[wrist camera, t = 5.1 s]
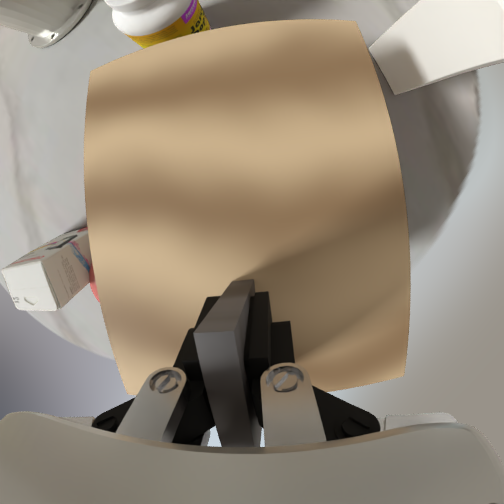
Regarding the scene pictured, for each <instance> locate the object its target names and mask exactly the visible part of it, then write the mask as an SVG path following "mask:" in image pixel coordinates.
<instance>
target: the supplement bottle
mask: <svg viewBox="0 0 504 504" xmlns="http://www.w3.org/2000/svg"><path fill="white" fill-rule="evenodd" d="M104 1H105V2H106V3H107V4H108V5H109V6H110V7H111V8H112V9H113V13H112V17H113V21H114V24H115V26H116V27H117V28H118V29H119V30H120V31H121V32H123V33H124V34H125V35H127V36H128V37H130V38H131V39H132V40H133V41H135V42H136V43H137V44H139V45H140V46H141V47H142V48H147V47H150V46H153V45H156V44H159V43H162V42H166V41H169V40H172V39H176V38H179V37H183V36H187V35H191V34H195V33H199V32H203V31H208V30H211V27H210V24H209V22H208V20H207V18H206V16H205V14H204V12H203V9H202V7H201V5H200V3H199V1H198V0H104Z"/></svg>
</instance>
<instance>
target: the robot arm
mask: <svg viewBox="0 0 504 504" xmlns="http://www.w3.org/2000/svg"><path fill="white" fill-rule="evenodd" d="M91 1H92V0H0V26H3V27H7V28H11V29H14V30H18V31H21V32H24V33H27V34H28V39H29V42H30V44H31V45H32V46H34V47H37V48H45V47H48V46H50V45H52V44H54V43H55V42H57V41H58V40H60V39H61V38H62V37H64V36H65V35H66V34H67V33H68V32H69V31H70V30H71V29H72V28H73V27H74V26H75V25H76V24H77V23H78V21H79V20H80V19H81V18H82V16H83V15H84V13H85V12H86V11H87V9H88V7H89V5H90V4H91ZM219 298H220V296H211V297H207V298H206V300H205V303H204V305H203V307H202V310H201V312H200V315H199V317H198V320H197V322H196V325H195V327H194V328H190V329H189V330H188V332H187V334H186V336H185V339H184V341H183V343H182V346H181V348H180V351H179V353H178V355H177V358H176V360H175V363H174V365H173V367H165V368H160V369H158V370H156V371H154V372H153V373H151V374H150V375H149V376H148V378H147V379H146V381H145V382H144V384H143V386H142V387H141V389H140V391H139V393H138V394H137V396H136V397H135V398H133V399H131V400H129V401H127V402H125V403H123V404H121V405H119V406H117V407H115V408H113V409H111V410H108V411H106V412H104V413H102V414H101V415H99V416H98V417H97V418H96V419H95V418H94V417H55V416H52V415H48V414H43V413H37V412H29V411H26V412H15V413H10V414H8V415H6V416H5V417H4V418H3V419H2V420H1V421H0V504H504V465H503V463H502V461H501V459H500V458H499V456H498V454H497V452H496V451H495V449H494V447H493V446H492V445H491V443H490V442H489V440H488V439H487V438H486V437H485V436H484V434H483V433H481V432H480V431H479V430H478V429H476V428H475V427H473V426H470V425H467V424H462V423H457V421H456V420H455V418H454V417H453V416H452V415H450V414H447V413H428V414H411V415H386V418H376V417H375V416H374V415H372V414H371V413H369V412H367V411H365V410H363V409H360V408H358V407H356V406H354V405H351V404H349V403H347V402H345V401H343V400H341V399H339V398H337V397H335V396H333V395H331V394H329V393H327V392H325V391H323V390H321V389H319V388H317V387H315V386H313V385H312V384H311V380H310V377H309V374H308V372H307V370H306V369H305V368H304V367H302V366H300V365H298V364H295V358H294V349H293V340H292V331H291V323H290V321H281V322H272V314H271V306H270V298H269V292H268V291H265V292H255V295H254V296H251V297H250V306H249V314H248V322H247V331H246V339H245V347H244V366H245V370H246V375H247V379H248V384H249V388H250V392H251V396H252V401H253V405H254V409H255V413H256V417H257V419H258V423H259V426H261V427H262V428H264V440H265V447H210V446H209V447H208V446H207V444H208V441H209V438H210V429H211V428H212V427H214V426H215V422H214V418H213V414H212V411H211V407H210V403H209V399H208V395H207V391H206V387H205V383H204V379H203V375H202V371H201V366H200V362H199V358H198V353H197V348H196V344H195V339H194V334H193V333H194V331H195V330H196V329H197V327H198V326H199V325H200V323H201V322H202V321H203V319H204V318H205V317H206V315H207V314H208V313H209V311H210V310H211V309H212V307H213V306H214V305H215V303H216V302H217V300H218V299H219Z"/></svg>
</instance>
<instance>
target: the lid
mask: <svg viewBox="0 0 504 504" xmlns="http://www.w3.org/2000/svg"><path fill="white" fill-rule="evenodd" d="M84 184H85V203H86V215H87V226H88V235H89V243H90V250H91V257H92V264H93V270H94V275H95V281H96V286H97V291H98V296H99V300H100V305H101V309H102V313H103V318H104V322H105V325H106V329H107V333H108V337H109V340H110V344H111V347H112V350H113V354H114V357H115V360H116V363H117V366H118V369H119V372H120V375H121V378H122V381H123V383H124V386H125V389H126V391H127V394H130V395H137V394H138V393H139V391H140V389H141V387H142V386H143V384H144V382H145V381H146V379H147V378H148V376H149V375H150V374H151V373H153V372H154V371H156V370H158V369H160V368H165V367H173V365H174V363H175V360H176V358H177V355H178V353H179V351H180V348H181V346H182V343H183V341H184V339H185V336H186V334H187V332H188V330H189V329H190V328H194V327H195V325H196V322H197V320H198V317H199V315H200V312H201V310H202V307H203V305H204V303H205V300H206V298H207V297H211V296H220V298H219V299H218V300H217V302H216V303H215V305H214V306H213V307H212V309H211V310H210V311H209V313H208V314H207V315H206V317H205V318H204V319H203V321H202V322H201V323H200V325H199V326H198V327H197V329H196V330H195V331H194V333H193V334H194V339H195V344H196V348H197V353H198V358H199V362H200V366H201V371H202V375H203V379H204V383H205V387H206V391H207V395H208V399H209V403H210V407H211V411H212V414H213V418H214V422H215V425H216V428H217V432H218V436H219V439H220V442H221V446H222V447H260V441H261V430H262V427H261V426H259V423H258V419H257V417H256V413H255V409H254V405H253V401H252V396H251V392H250V388H249V384H248V379H247V375H246V370H245V366H244V347H245V339H246V331H247V322H248V314H249V306H250V297H251V296H254V295H255V292H265V291H268V292H269V298H270V306H271V314H272V322H281V321H290V323H291V331H292V340H293V349H294V358H295V364H298V365H300V366H302V367H304V368H305V369H306V370H307V372H308V374H309V377H310V380H311V384H312V385H313V386H315V387H317V388H319V389H321V390H323V391H325V392H330V391H336V390H343V389H348V388H354V387H359V386H364V385H368V384H373V383H377V382H382V381H386V380H390V379H394V378H398V377H402V376H404V373H405V365H406V356H407V346H408V335H409V319H410V248H409V232H408V221H407V211H406V202H405V194H404V187H403V180H402V174H401V168H400V162H399V157H398V152H397V147H396V142H395V138H394V133H393V129H392V125H391V121H390V117H389V113H388V110H387V106H386V102H385V99H384V96H383V92H382V89H381V86H380V83H379V80H378V77H377V74H376V71H375V68H374V65H373V62H372V60H371V57H370V54H369V52H368V49H367V47H366V44H365V42H364V39H363V37H362V34H361V32H360V30H359V28H358V25H357V23H356V21H346V20H325V19H299V20H279V21H266V22H257V23H248V24H241V25H235V26H229V27H223V28H218V29H213V30H208V31H203V32H199V33H195V34H191V35H187V36H183V37H179V38H176V39H172V40H169V41H166V42H162V43H159V44H156V45H153V46H150V47H147V48H144V49H142V50H139V51H136V52H134V53H131V54H128V55H126V56H123V57H121V58H119V59H116V60H114V61H112V62H109V63H107V64H105V65H103V66H101V67H98V68H96V69H94V70H92V71H91V72H90V79H89V86H88V95H87V105H86V117H85V135H84Z"/></svg>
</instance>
